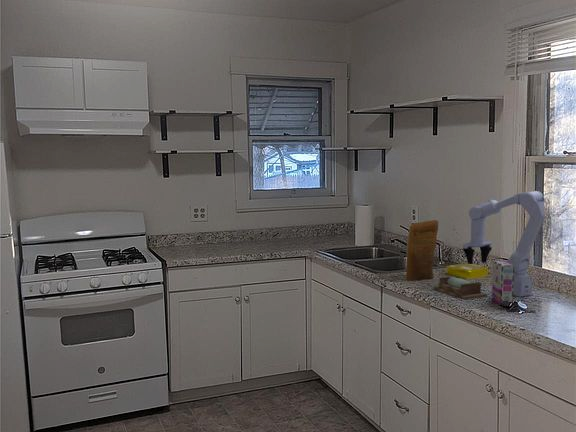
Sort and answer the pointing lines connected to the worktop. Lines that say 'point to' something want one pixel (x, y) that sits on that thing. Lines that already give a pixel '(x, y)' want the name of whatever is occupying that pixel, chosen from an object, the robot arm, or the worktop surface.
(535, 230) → the robot arm
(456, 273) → the element tile
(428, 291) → the worktop surface
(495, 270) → the candy bar box
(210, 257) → the worktop surface
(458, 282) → the paper roll
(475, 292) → the roll cradle
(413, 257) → the pancake mix bag
